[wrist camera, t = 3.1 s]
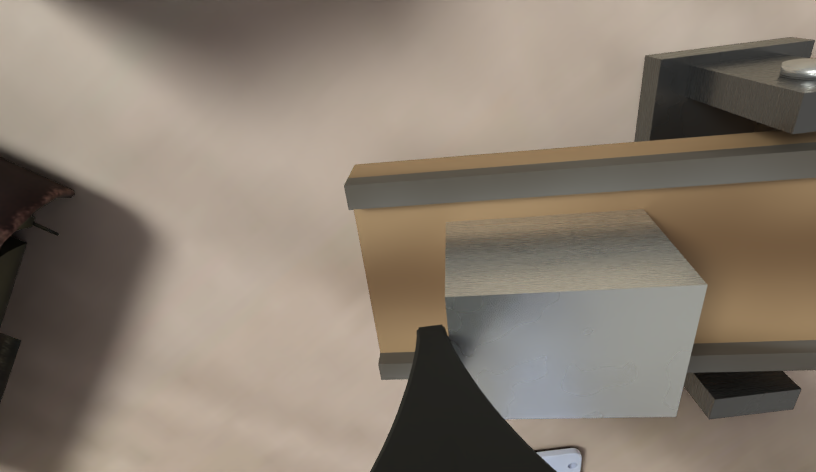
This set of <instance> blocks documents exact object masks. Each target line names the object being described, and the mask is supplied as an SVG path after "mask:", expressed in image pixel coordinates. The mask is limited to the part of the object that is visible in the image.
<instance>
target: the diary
mask: <svg viewBox="0 0 816 472" xmlns="http://www.w3.org/2000/svg"><path fill="white" fill-rule="evenodd" d="M73 195H75V193H74V190H72V189H70V188H67V187H65V186H63V185H61V184H59V183H57V182H55V181H52V180H50V179H48V178H46V177H44V176H41V175H39V174H37V173H35V172H32V171H30V170H28V169H26V168H24V167H21V166H19V165H17V164H15V163H12V162H10V161H8V160H6V159H4V158H1V157H0V326H1V323H2V320H3V317H4V314H5V311H6V308H7V304H8V301H9V298H10V295H11V292H12V289H13V286H14V283H15V279H16V276H17V273H18V270H19V267H20V264H21V261H22V257H23V254H24V251H25V248H26V245H27V243H26V242H24V241H21V240H19V239H17V238H14V237H12V236H11V235H12V234H13V233H14V232H15V231H17V230H21V229H25V228H29V227H32V226H33V225H34V226H36V227H39V228H41V229H43V230H46V231H48V232H50V233H53V234H55V235H57V236H58V235H59V233H57V232H55V231H53V230H51V229H48V228H46V227H44V226H41V225H39V224H37V223H34V220H35V218H34V217H32V216H31V215H32V214H33V213H34V212H35V211H37V210H38V209H40V208H41V207H43V206H45V205H46V204H48V203H49V202H51V201H52V200H54V199H56V198H71V197H72V196H73ZM20 342H21V340H19V339H16V338H13V337H11V336H8V335H5V334H2V333H0V402H1V399H2V396H3V393H4V390H5V387H6V384H7V381H8V378H9V375H10V372H11V369H12V366H13V363H14V360H15V357H16V354H17V351H18V348H19V345H20Z"/></svg>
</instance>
